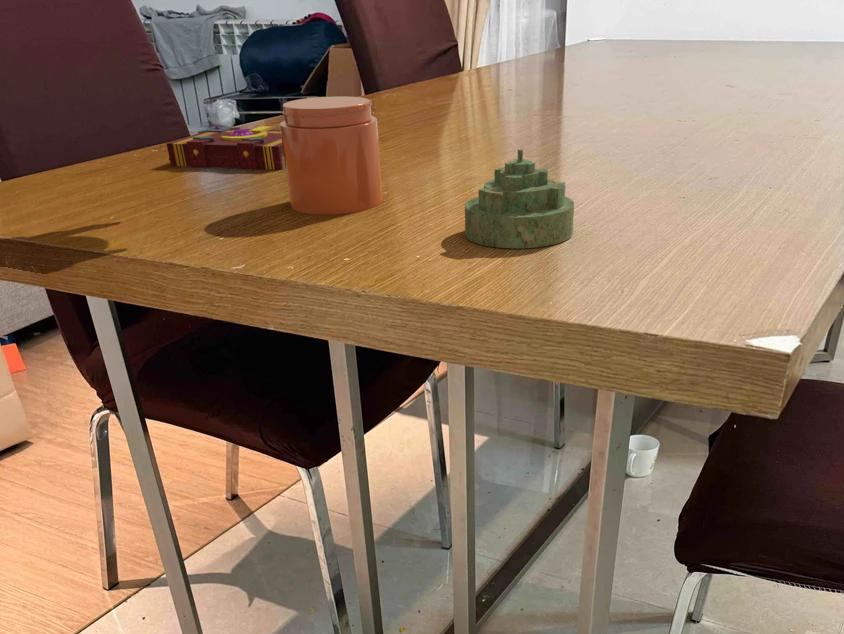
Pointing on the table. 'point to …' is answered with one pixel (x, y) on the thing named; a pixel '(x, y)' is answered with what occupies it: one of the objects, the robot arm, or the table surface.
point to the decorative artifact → (519, 209)
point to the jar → (331, 155)
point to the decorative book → (230, 149)
